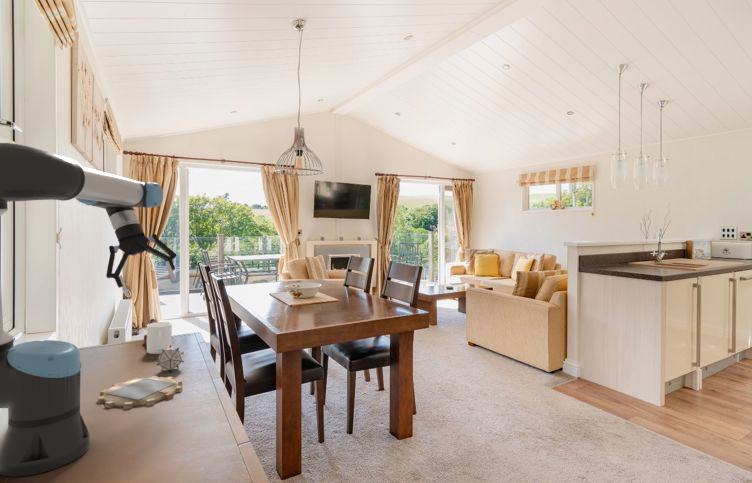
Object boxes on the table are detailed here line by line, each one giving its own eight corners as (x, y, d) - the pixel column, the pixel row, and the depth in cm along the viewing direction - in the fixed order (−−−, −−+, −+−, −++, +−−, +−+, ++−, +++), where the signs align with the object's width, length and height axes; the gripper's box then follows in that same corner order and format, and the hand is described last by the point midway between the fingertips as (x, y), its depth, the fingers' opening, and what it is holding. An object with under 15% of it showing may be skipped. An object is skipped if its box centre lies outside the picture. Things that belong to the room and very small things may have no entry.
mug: (145, 358, 150) (145, 329, 150) (147, 349, 160) (147, 323, 160) (171, 355, 154) (171, 327, 154) (171, 347, 164) (171, 321, 164)
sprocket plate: (137, 414, 104) (137, 408, 104) (79, 401, 111) (79, 396, 111) (198, 385, 125) (198, 380, 125) (145, 376, 131) (145, 371, 131)
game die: (176, 380, 138) (194, 357, 138) (153, 378, 131) (171, 354, 131) (169, 362, 144) (185, 340, 143) (146, 359, 137) (163, 336, 136)
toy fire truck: (160, 340, 175) (161, 316, 175) (167, 346, 166) (167, 321, 165) (142, 342, 171) (142, 318, 171) (148, 349, 161) (148, 323, 161)
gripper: (167, 220, 139) (190, 276, 138) (82, 241, 125) (107, 304, 124) (169, 213, 133) (193, 272, 132) (80, 235, 119) (106, 301, 118)
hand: (151, 288), depth 128 cm, fingers open, 13 cm apart
